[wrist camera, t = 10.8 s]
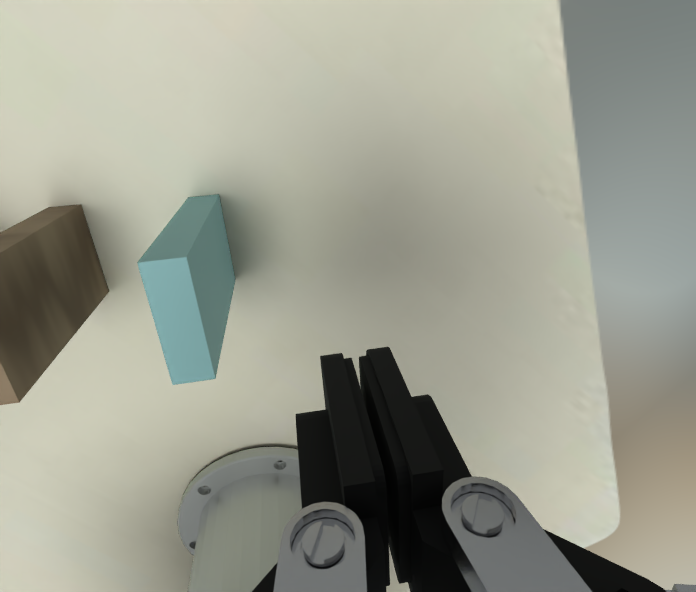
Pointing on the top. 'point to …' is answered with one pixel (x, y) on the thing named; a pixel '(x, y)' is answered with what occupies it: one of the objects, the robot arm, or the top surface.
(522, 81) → the top surface
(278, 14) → the top surface
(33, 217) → the tile
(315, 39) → the top surface
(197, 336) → the tile
